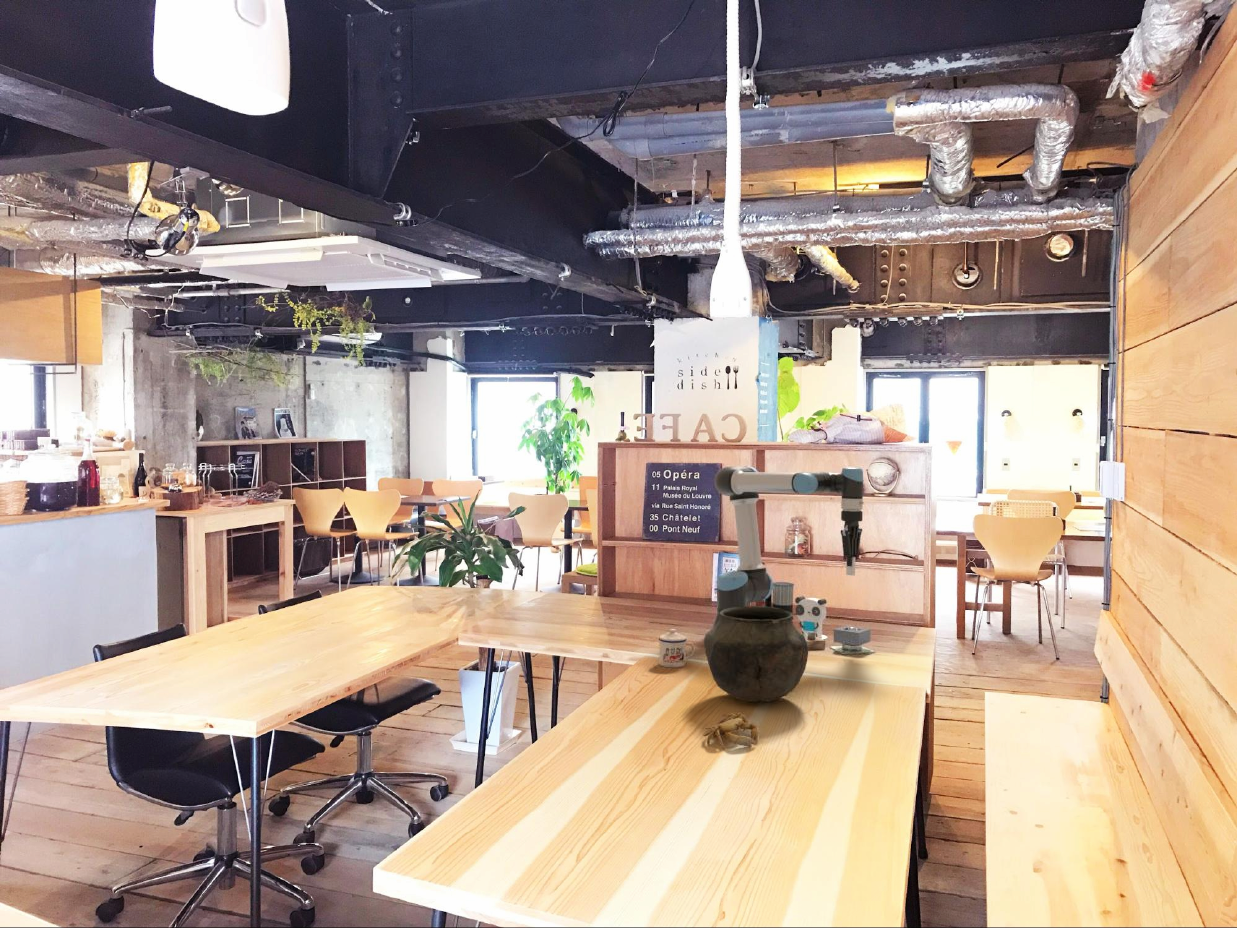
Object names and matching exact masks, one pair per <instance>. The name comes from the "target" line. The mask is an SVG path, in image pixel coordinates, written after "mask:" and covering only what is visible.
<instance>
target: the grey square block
mask: <svg viewBox="0 0 1237 928" xmlns="http://www.w3.org/2000/svg"><path fill="white" fill-rule="evenodd" d="M848 627H854V626H852V625H843V626H840V627H837V628H834V629H833V643H838V644H839V643H840V644H842V643H844V644H850V645H857V646H859V645H862V646H863V645H864V644H867V643H870V642H871V628H867V627H866V628H865V627H859V626H855V627H856V631H852V630H848Z"/></svg>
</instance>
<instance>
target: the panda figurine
mask: <svg viewBox="0 0 1237 928" xmlns="http://www.w3.org/2000/svg"><path fill="white" fill-rule="evenodd" d="M794 602H795V604H797V605H796V607H795V614H796V616H797V618H798V620H799V626H800V628H801V634H802V635H804V637H808V631H814V632H816V637H818V638H820V639H823V640H825V641H826V640H827V639H828V636H826V635H824V634H823V621H824V620H825V619H826V616H827V608H826V605H827V602H828V601H827V599H826V598H822V599H820V598H816V597H809V598H805V596H803V595H802V596H797V597H796V598H795V599H794Z"/></svg>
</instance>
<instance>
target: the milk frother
mask: <svg viewBox="0 0 1237 928" xmlns="http://www.w3.org/2000/svg"><path fill="white" fill-rule="evenodd" d="M794 586H795V583H792V582H787V581H786V582H785V581H773V590H772V593H771V595H770V596H769V597H768V598H767V599H765V600H764V607H772V608H778V609H782V610H785V611H788V612H790V613H792V614H793V615H794V607H793V605H794ZM793 619H794V617H793V618H792V620H793Z"/></svg>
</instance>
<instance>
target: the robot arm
mask: <svg viewBox="0 0 1237 928" xmlns="http://www.w3.org/2000/svg"><path fill="white" fill-rule="evenodd" d="M714 486H715V489H716V491H717V492H718V493H719V494H721V495H723V496H726V497H729V502H730V503H732V504H733V506H734V507H733V508H734V515H735V516H734V518H735V526H736V537H737V547H738V557H739V558H738V559H739V566H738V567H737V569H736V570H732V571H725V572H723V573H720V574H719V575H718V576H717V581H716V615H715V618H714V621H713V623H712V626H711V629H712V628H713V627H714V626H715V625H716V624H717V622H718V621H719V614H720V612H721V611H722V610H724V609H728V608H734V607H745V606H748V604H753V603H760V602H762V601H765V599H767V598H768V597H769V596H770V595H771V593H772V594H773V583H774V581H773V578H772V576H771V575H770V574H769V573H768V572H767V566H766V565H765V564H764V563H762V554H761V543H760V535H759V533H760V532H759V522H758V514H757V502H758V501H759V499H760V495H759V493H773V494H775V493H778V494H802V495H811V494H812V495H813V494H827V493H829V494H830V493H831V494H840V495H841V501H840V503H841V504H840V507H841V509H842V510H841V511H840V520H841V521H842V522H844V525H843V529H841V530H840V535H841V541H842V542H841V543H842V553H843V554H842V555H843V557H844V558H845V557H846V567H845V569H846V570H845V573H846V576H856V558H859V552H860V545H861V539H862V538H861V537H862V536H861V535H862V533H863V528H860V524H859V522H862V521H863V516H864V515H863V513H864V512H863V511H862V510H863V505H864V499H863V498H864V496H863V495H864V494H863V490H864V471H863V468H860V467H842V470H841V472H831V471H830V472H829V471H827V472H825V471H817V472H768V471H767V472H763V471H760V472H759V471H758V470H757V469H756V468H754V467H752V466H746V465H743V466H742V465H741V466H725V467H722V468H721V469H719V470H718V471H717V473H716V474H715V477H714Z"/></svg>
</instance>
